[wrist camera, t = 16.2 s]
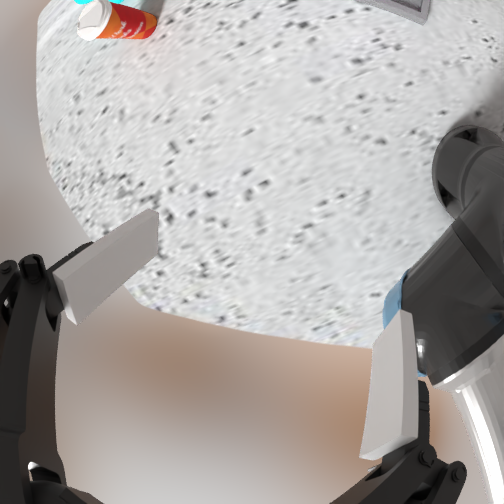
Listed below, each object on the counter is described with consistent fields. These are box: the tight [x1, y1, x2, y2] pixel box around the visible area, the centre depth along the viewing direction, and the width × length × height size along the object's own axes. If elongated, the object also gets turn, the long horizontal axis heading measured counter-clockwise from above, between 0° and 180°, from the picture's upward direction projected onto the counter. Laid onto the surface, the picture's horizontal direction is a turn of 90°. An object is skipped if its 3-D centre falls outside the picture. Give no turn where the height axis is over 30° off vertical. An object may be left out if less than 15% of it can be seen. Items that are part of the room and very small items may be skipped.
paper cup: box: [77, 0, 157, 40], centre depth 29 cm, size 8×8×14 cm
